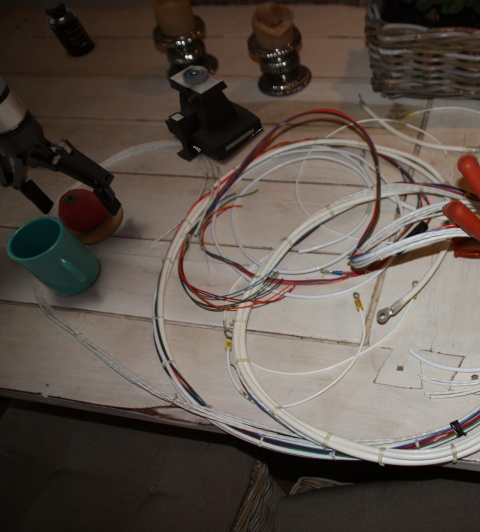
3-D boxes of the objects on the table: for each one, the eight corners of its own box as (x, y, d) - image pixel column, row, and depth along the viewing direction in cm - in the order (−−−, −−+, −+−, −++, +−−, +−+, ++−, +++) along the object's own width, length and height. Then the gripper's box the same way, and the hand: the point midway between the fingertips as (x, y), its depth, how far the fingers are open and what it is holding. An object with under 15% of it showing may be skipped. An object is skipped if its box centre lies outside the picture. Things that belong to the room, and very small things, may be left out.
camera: (246, 71, 103) (183, 111, 96) (263, 133, 115) (209, 172, 107) (192, 47, 110) (130, 82, 103) (214, 108, 121) (159, 143, 114)
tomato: (76, 243, 100) (52, 218, 94) (67, 216, 104) (43, 191, 98) (118, 223, 102) (96, 197, 96) (107, 197, 106) (86, 171, 100)
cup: (79, 314, 92) (36, 278, 83) (40, 282, 97) (-5, 245, 87) (121, 276, 95) (84, 238, 86) (82, 247, 100) (43, 208, 91)
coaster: (55, 244, 101) (53, 242, 101) (80, 199, 107) (78, 197, 107) (110, 245, 100) (108, 243, 99) (131, 200, 106) (130, 198, 105)
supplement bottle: (62, 52, 138) (31, 7, 128) (83, 37, 141) (55, -7, 131) (78, 59, 135) (47, 14, 125) (99, 45, 138) (71, -1, 128)
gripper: (-83, 138, 83) (12, 224, 100) (68, 137, 80) (138, 226, 97) (-56, 105, 87) (31, 193, 104) (88, 103, 84) (152, 194, 101)
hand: (83, 209), depth 101 cm, fingers open, 13 cm apart
